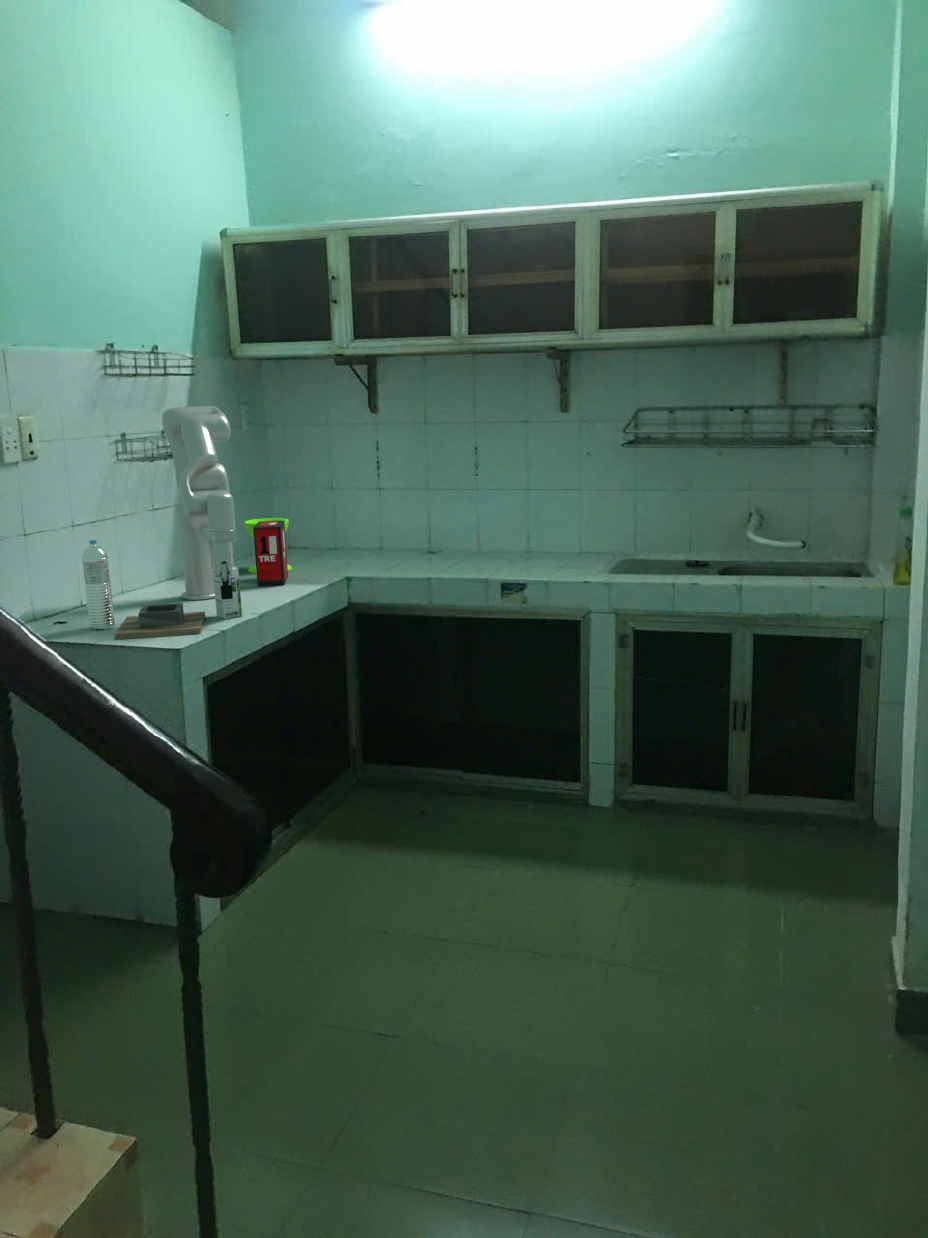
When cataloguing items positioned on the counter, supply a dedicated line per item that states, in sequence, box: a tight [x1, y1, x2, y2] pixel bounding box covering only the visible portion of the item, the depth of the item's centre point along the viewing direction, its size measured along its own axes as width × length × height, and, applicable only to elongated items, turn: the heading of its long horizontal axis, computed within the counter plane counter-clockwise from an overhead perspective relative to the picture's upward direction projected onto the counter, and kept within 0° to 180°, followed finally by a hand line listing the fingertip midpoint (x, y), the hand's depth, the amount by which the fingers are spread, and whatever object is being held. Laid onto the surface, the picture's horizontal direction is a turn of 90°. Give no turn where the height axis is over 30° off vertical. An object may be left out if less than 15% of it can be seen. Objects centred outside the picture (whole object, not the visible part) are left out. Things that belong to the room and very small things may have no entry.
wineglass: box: [244, 517, 293, 574], centre depth 369 cm, size 16×16×18 cm
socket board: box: [115, 602, 206, 640], centre depth 283 cm, size 22×22×6 cm
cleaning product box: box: [253, 521, 289, 588], centre depth 345 cm, size 16×9×20 cm, turn 5°
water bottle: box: [81, 539, 116, 631], centre depth 282 cm, size 7×7×25 cm
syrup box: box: [213, 566, 243, 620], centre depth 294 cm, size 6×6×14 cm
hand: (227, 595), depth 294 cm, fingers closed on syrup box, 7 cm apart
